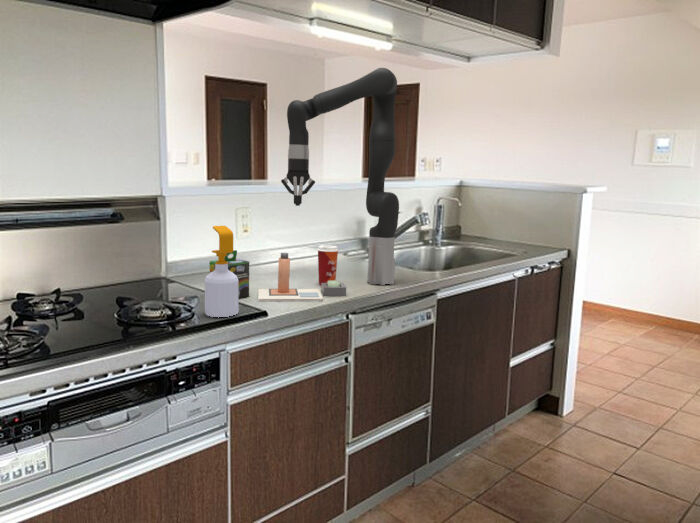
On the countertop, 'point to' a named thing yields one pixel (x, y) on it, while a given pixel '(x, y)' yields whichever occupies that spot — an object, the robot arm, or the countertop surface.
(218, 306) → the soap bottle
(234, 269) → the chalk box
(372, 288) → the countertop surface
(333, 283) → the button
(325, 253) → the paper cup
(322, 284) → the frame
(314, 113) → the robot arm
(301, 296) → the board
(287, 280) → the orange bottle with cap
